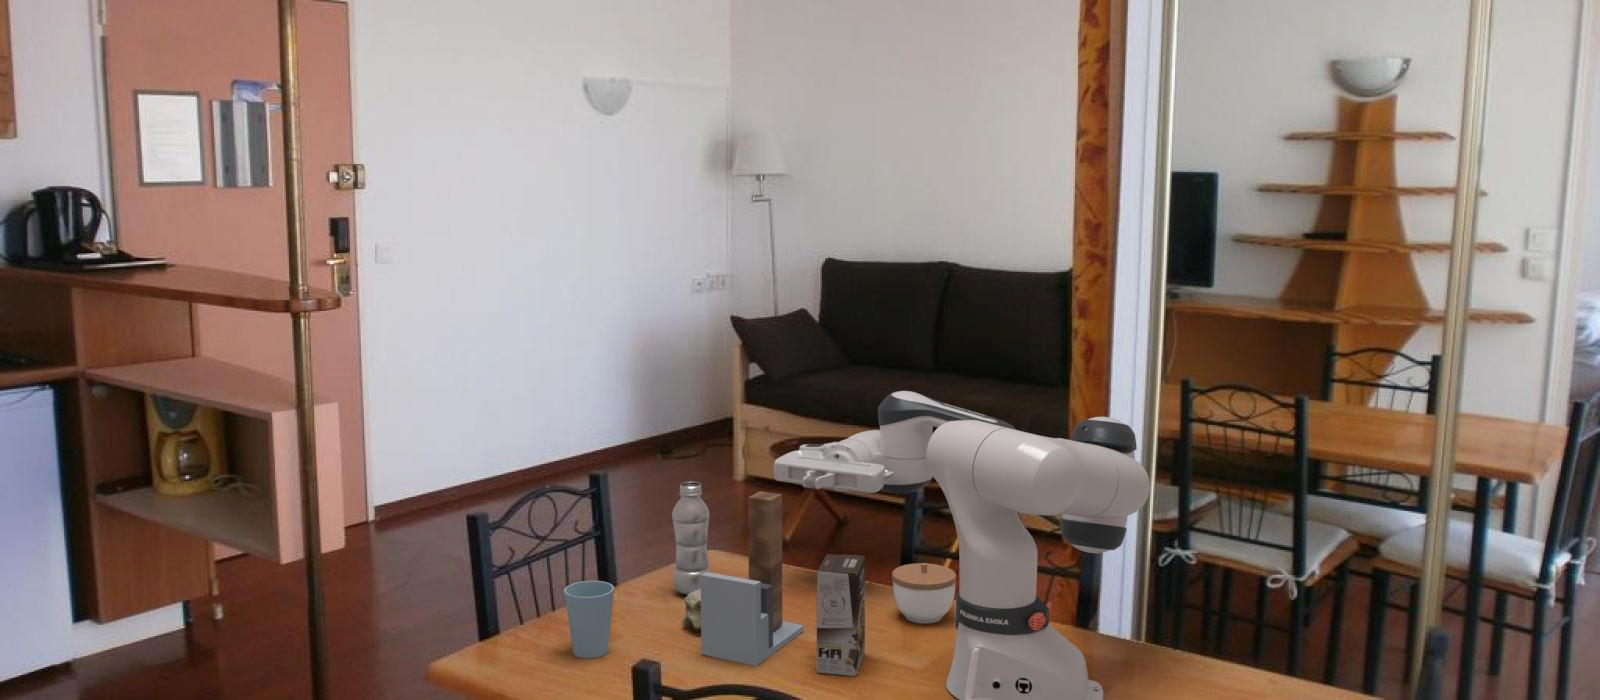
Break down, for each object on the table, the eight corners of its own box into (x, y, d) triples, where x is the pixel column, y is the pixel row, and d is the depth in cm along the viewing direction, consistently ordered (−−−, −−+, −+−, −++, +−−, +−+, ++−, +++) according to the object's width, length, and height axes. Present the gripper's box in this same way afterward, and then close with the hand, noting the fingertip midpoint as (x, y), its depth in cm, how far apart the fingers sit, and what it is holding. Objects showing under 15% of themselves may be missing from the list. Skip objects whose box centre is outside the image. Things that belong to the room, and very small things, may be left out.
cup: (622, 644, 200) (620, 581, 199) (605, 663, 193) (603, 598, 191) (577, 640, 202) (575, 578, 200) (559, 659, 194) (556, 595, 193)
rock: (730, 646, 203) (723, 603, 200) (676, 645, 205) (668, 602, 203) (745, 616, 211) (738, 574, 209) (693, 616, 214) (686, 574, 211)
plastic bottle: (710, 599, 220) (709, 489, 217) (671, 599, 220) (669, 489, 217) (712, 586, 227) (711, 479, 224) (674, 587, 227) (673, 479, 224)
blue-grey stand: (803, 631, 206) (803, 555, 204) (756, 666, 192) (755, 584, 190) (751, 621, 210) (751, 546, 208) (701, 654, 196) (700, 574, 194)
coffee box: (857, 677, 188) (858, 573, 185) (815, 673, 189) (815, 570, 186) (866, 653, 197) (867, 554, 194) (826, 650, 198) (826, 552, 195)
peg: (782, 624, 205) (782, 494, 202) (770, 632, 202) (770, 500, 198) (761, 620, 207) (760, 491, 203) (749, 628, 203) (748, 497, 200)
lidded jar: (918, 601, 220) (919, 549, 218) (968, 616, 212) (969, 563, 211) (878, 617, 212) (879, 564, 211) (928, 634, 205) (929, 578, 203)
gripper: (897, 489, 223) (865, 509, 211) (795, 476, 232) (759, 494, 220) (897, 455, 222) (865, 472, 210) (795, 443, 231) (758, 459, 219)
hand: (810, 483), depth 215 cm, fingers closed
